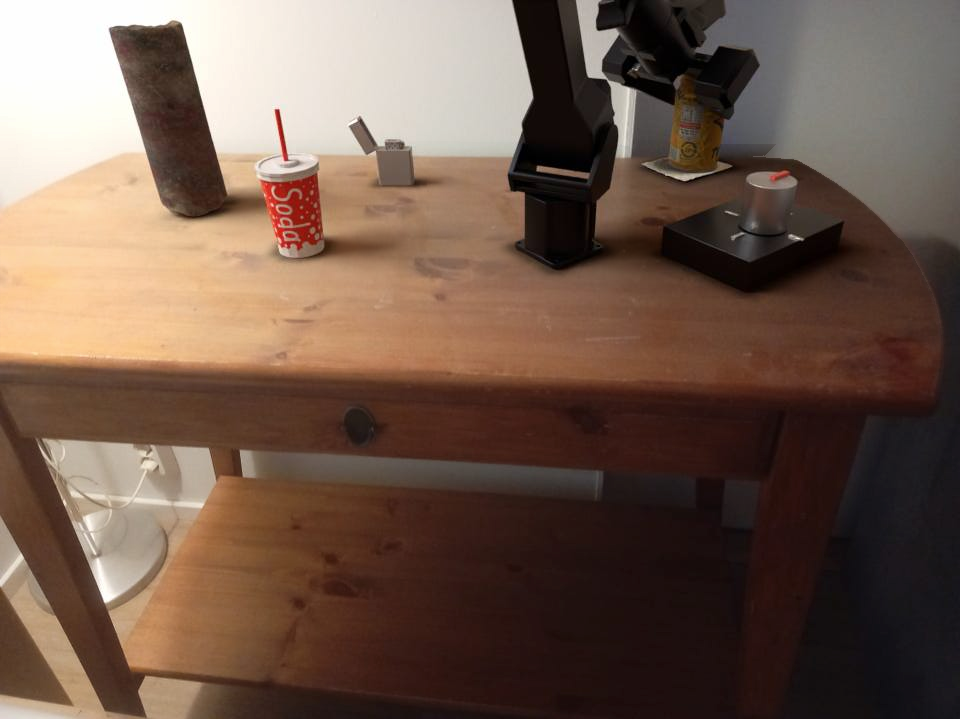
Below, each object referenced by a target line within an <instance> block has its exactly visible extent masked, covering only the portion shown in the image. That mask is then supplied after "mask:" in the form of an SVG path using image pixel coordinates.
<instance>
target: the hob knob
mask: <svg viewBox="0 0 960 719" xmlns="http://www.w3.org/2000/svg"><path fill="white" fill-rule="evenodd" d="M797 187H798V180H797V179H796V178H795V177H794V176H791V175H790V171H788V170H782V171H779V172H778V171H777V172H776V171H757V172H753V173H750V174H748V175H747V176H746V179H745V183H744V189H743V195H742V196H743V200H742V206H741V212H740V218H739V226H740V227H741V228H742V229H744V230H746V231H748V232H751V233H755V234H760V235H777V234H781V233H784V232H785V231H786V230H787V229H788V225H789V220H790V216H791V211H792V206H793V203H794V201H795V198H796V197H795V196H796V193H797V192H796V191H797Z"/></svg>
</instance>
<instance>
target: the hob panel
mask: <svg viewBox="0 0 960 719" xmlns="http://www.w3.org/2000/svg"><path fill="white" fill-rule="evenodd" d="M742 200H743V195H742V196H739V197H737V198H735V199H732V200H728V201H727V202H724V203H721V204H718V205H716V206H713V207H710V208H708V209H705V210H702V211H700V212H697V213H694V214H691V215H689V216H686V217H683V218H680V219H678V220H675V221H673V222H670V223H668V224H667V223H666V224H665V225H663V227H662V235H661V245H660V253H659V254H660V255H661V256H663V257H665V258H668V259H670V260H672V261H674V262H677V263H679V264H681V265H684V266H686V267H688V268H690V269H692V270H695V271H697V272H699V273H701V274H703V275H705V276H707V277H710V278H711V279H714V280H716V281H719V282H721V283H723V284H725V285H727V286H730V287H732V288H734V289H736V290H739V291H741V292H743V293H747V292H749V291H750V290H752V289H755V288H757V287H759V286H761V285H764V284H765V283H767V282H770V281H773V280H774V279H776V278H778V277H780V276H783V275H785V274H787V273H789V272H791V271H793V270H796V269H797V268H800V267H802V266H804V265H806V264H808V263H811V262H812V261H815V260H817V259H819V258H821V257H823V256H826V255H828V254H830V253H832V252H834V251H836V250H838V248H839V244H840V240H841V236H842V232H843V228H844V224H845V220H844V219H842V218H839V217H836V216H832V215H829V214H827V213H823V212H821V211H818V210H815V209H812V208H808V207H806V206H803V205H800V204H797V203H794V202H793V206H792V211H791V216H790V220H789V225H788V229H787V230H786V231H785V232H784V233H781V234H777V235H760V234H755V233H751V232H748V231H746V230H744V229H742V228H741V227H740V226H739V218H740V212H741V206H742Z"/></svg>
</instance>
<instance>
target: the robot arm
mask: <svg viewBox="0 0 960 719" xmlns="http://www.w3.org/2000/svg"><path fill="white" fill-rule="evenodd" d="M511 4H512V9H513V13H514V18H515V22H516V27H517V30H518V35H519V40H520V44H521V49H522V53H523V58H524V62H525V67H526V70H527V74H528V79H529V84H530V88H531V94H532V99H531V101H530V103H529V106H528V108H527V110H526V112H525V114H524V115H523V116H524V117H523V118H522V120H521V130H522V131H521V132H520V136H519V140H518V142H517V145H516V147H515V151H514V154H513V156H512V159H511V161H510V165H509V168H508V171H507V181H508V186H509V191H510V192H512V193H523V194H524V238H522V239H519V240H516V241H515V242H514V248H515V249H517V250H518V251H521V252H523V253H524V254H526V255H528V256H529V257H531V258H533V259H535V260H537V261H539V262H541V263H542V264H545V265H547V266H548V267H550V268H552V269H558V268H561V267H564V266H567V265H569V264H572V263H575V262H578V261H581V260H582V259H585V258H588V257H591V256H593V255H596V254H599V253H601V252H604V251H603V250H604V245H603V244H601V243H599V242H597V241H595V240H594V239H595V237H596V222H597V207H598V206H597V204H598V201H599V200H600V199H601V198H602V197H603V196H604V195H605V194H606V193H607V192H608V191H609V190H610V188H611V184H612V179H613V174H614V169H615V168H614V167H615V162H616V156H617V151H618V147H619V146H618V145H619V128H618V127H619V126H618V125H617V124H615V119H614V117H615V116H616V112H615V110H614V106H613V98H612V87H611V85H610V83H609V82H613V83H616V84H620V85H621V86H622V87H625V88H627V89H630V90H633V91H635V92H638V93H640V94H644V95H646V96H648V97H651V98H653V99H656V100H658V101H661V102H663V103H666V104H668V105H670V106H673V107H674V106H675V97H676V90H677V88H676V86H675V84H674V83H675V82H676V80H677V79H678V77H682V74H686V75H690V76H695V77H698V78H697V80H696V81H695V89H694V94H695V96H696V98H697V99H698V100H699V101H698V103H697V105H699V106H701V107H703V108H705V109H707V110H709V111H711V112H712V113H714V114H716V115H718V116H720V117H722V118H724V119H725V121H726V120H727V121H730V120H731V119H732V117H733V115H734V114H735V104H736V102H737V100H738V99H739V98H740V96H741V94H742V93H743V91H744V90H745V89H746V87H747V86H748V85H749V83H750V82H751V80H752V78H753V77H754V76H755V74H756V72H757V71H758V69H759V67H760V66H761V64H760V60H759V58H758V56H757V54H756V51H755V50H754V48H751V47H745V46H741V45H740V46H739V45H735V44H728V43H726V44H721V45H718V46H717V48H716V50H714V52H713V54H707V53H703V52H697V51H696V50H697V48H702V47H703V45H704V44H705V42H706V40H707V39H708V37H707V36H706V34H705V31H707V30H708V29H709V28H710V27H711V26H713V25H714V24H715V23H716V22H717V21H718V20H719V19H723V18H724V17H725V16H726V15H727V7H726V0H600V1H598V3H597V9H598V10H597V15H596V17H595V30H596V31H597V32H603V31H610V30H614V29H615V31H617V33H618V35H617V37H616V38H615V40H614V41H613V43H612V44H611V46H610V47H609V49H608V50H607V52H606V54H605V55H604V57H603V58H602V60H601V72H602V74H603V75H604V77H605V78H598V77H589V75H588V70H587V65H586V58H585V51H584V44H583V37H582V31H581V24H580V18H579V13H578V12H579V11H578V5H577V0H511ZM538 167H542V168H550V169H556V170H564V171H570V172H576V173H584V174H588V178H586V177H581V176H580V177H579V176H573V175H567V174H561V173H560V174H559V173H553V172H546V171H539V170H538Z"/></svg>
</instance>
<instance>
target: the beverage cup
mask: <svg viewBox="0 0 960 719" xmlns="http://www.w3.org/2000/svg"><path fill="white" fill-rule="evenodd" d="M274 116H275V121H276V126H277V132H278V138H279V143H280V148H281V153H277V154H274V155H270V156H266V157H264V158H261V159H259V160H258V161H257V162H256V163H254V172H255V173H256V178H258V179H259V180H260V183H261V188H262V192H263V195H264V199H265V204H266V206H267V211H268V214H269V218H270V222H271V225H272V229H273V233H274V236H275V240H276V243H277V248H278V251H279V253H280V255H282V256H283V257H287V258H290V259H291V258H292V259H302V258H309V257H311V256H315V255H317V254H319V253H321V252H322V251H323V250H324V248H326V246H325V238H324V237H325V236H324V228H323V218H322V207H321V206H322V205H321V196H320V186H319V177H318V172H319V170H320V160H319V157H318V156H316V155H314V154H311V153H306V152H288V148H287V143H286V137H285V132H284V127H283V126H284V125H283V122H282V116H281V110H280V108H275V109H274Z"/></svg>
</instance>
